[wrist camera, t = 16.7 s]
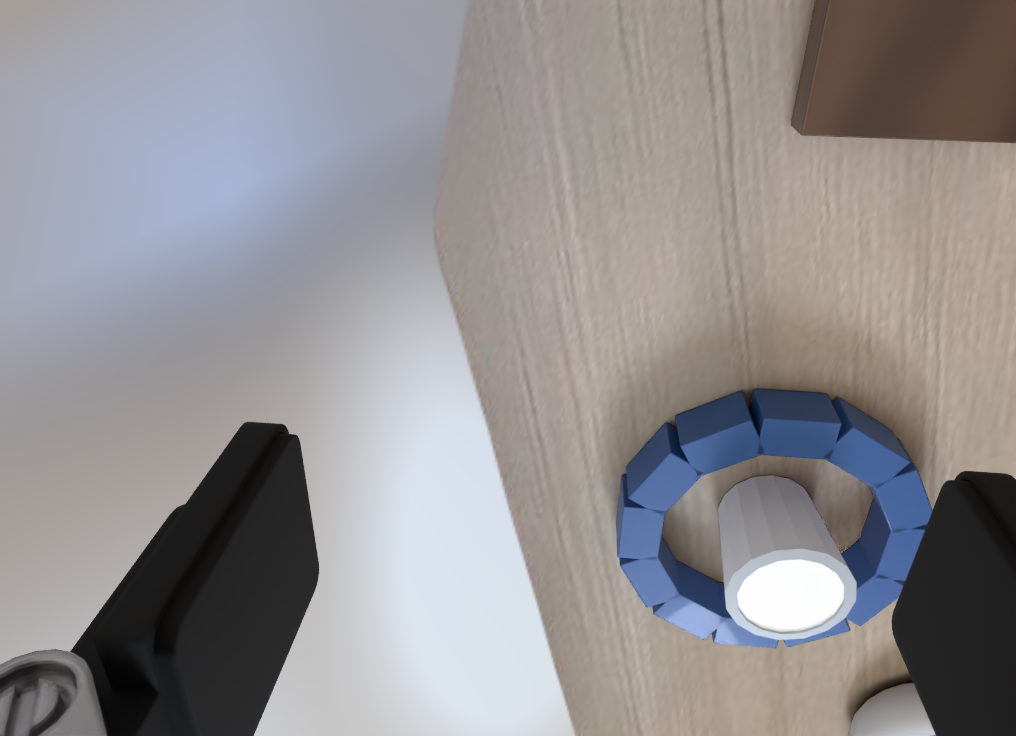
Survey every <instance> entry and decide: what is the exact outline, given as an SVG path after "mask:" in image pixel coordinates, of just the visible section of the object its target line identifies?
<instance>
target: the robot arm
mask: <svg viewBox="0 0 1016 736" xmlns="http://www.w3.org/2000/svg"><path fill="white" fill-rule="evenodd" d="M318 575H319V562H318V556H317V550H316V543H315V536H314V530H313V523H312V517H311V510H310V504H309V498H308V491H307V484H306V479H305V471H304V465H303V458H302V452H301V445H300V441H299V438H298V436H297V435H292V434H289V432H288V430H287V428H286V426H285V425H283V424H273V423H272V424H271V423H257V422H246V423H244V424H243V425H242V426H241V427H240V428H239V430H238V431H237V433H236V434H235V435H234V437H233V438H232V440H231V441H230V442H229V444H228V445H227V447H226V448H225V449H224V451H223V452H222V454H221V455H220V456H219V458H218V459H217V461H216V462H215V463H214V465H213V466H212V468H211V469H210V470H209V472H208V473H207V475H206V476H205V478H204V479H203V480H202V482H201V483H200V484H199V486H198V487H197V489H196V490H195V491H194V493H193V494H192V496H191V497H190V499H189V500H188V501H187V503H186V504H184V505H182V506H179V507H177V508H176V509H175V510H174V511H173V512H172V513H171V514H170V515H169V517H168V518H167V519H166V521H165V522H164V523H163V525H162V526H161V528H160V529H159V530H158V532H157V533H156V534H155V536H154V537H153V539H152V540H151V541H150V543H149V544H148V545H147V547H146V548H145V550H144V551H143V553H142V554H141V555H140V556H139V558H138V559H137V561H136V562H135V563H134V565H133V566H132V567H131V569H130V570H129V572H128V573H127V574H126V576H125V577H124V579H123V580H122V581H121V583H120V584H119V585H118V587H117V588H116V589H115V591H114V592H113V594H112V595H111V596H110V598H109V599H108V600H107V602H106V603H105V605H104V606H103V607H102V609H101V610H100V611H99V613H98V614H97V616H96V617H95V618H94V620H93V621H92V622H91V624H90V625H89V627H88V628H87V629H86V631H85V632H84V634H83V635H82V636H81V638H80V639H79V640H78V642H77V643H76V644H75V646H74V647H73V649H72V650H71V651H70V652H68V651H62V650H57V649H55V650H44V651H35V652H32V653H28V654H25V655H21V656H18V657H15V658H12V659H11V660H9V661H7V662H5V663H3V664H1V665H0V736H254V733H255V731H256V728H257V726H258V724H259V721H260V719H261V717H262V714H263V712H264V710H265V707H266V705H267V702H268V700H269V698H270V695H271V693H272V691H273V688H274V686H275V684H276V681H277V679H278V677H279V674H280V672H281V669H282V667H283V665H284V662H285V660H286V657H287V655H288V653H289V651H290V648H291V646H292V643H293V641H294V639H295V636H296V634H297V631H298V629H299V627H300V624H301V622H302V619H303V617H304V615H305V612H306V610H307V608H308V606H309V603H310V601H311V598H312V596H313V594H314V591H315V588H316V586H317V581H318ZM892 630H893V635H894V638H895V641H896V643H897V646H898V648H899V650H900V653H901V655H902V657H903V660H904V662H905V664H906V667H907V669H908V671H909V674H910V676H911V678H912V681H913V683H914V685H915V688H916V690H917V692H918V695H919V697H920V699H921V702H922V704H923V706H924V709H925V711H926V713H927V716H928V718H929V720H930V723H931V725H932V727H933V730H934V732H935V734H936V736H1016V479H1015V478H1013V477H1012V476H1011V475H1008V474H1003V473H988V472H973V471H964V472H961V473H960V474H959V475H958V476H957V477H956V479H955V480H949V481H946V482H945V483H944V484H943V486H942V488H941V490H940V493H939V496H938V498H937V501H936V503H935V506H934V508H933V511H932V514H931V516H930V519H929V521H928V524H927V526H926V529H925V532H924V534H923V537H922V539H921V542H920V544H919V547H918V550H917V552H916V555H915V557H914V560H913V562H912V565H911V568H910V570H909V573H908V575H907V578H906V580H905V583H904V586H903V588H902V591H901V593H900V596H899V598H898V601H897V604H896V606H895V609H894V612H893V615H892Z"/></svg>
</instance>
